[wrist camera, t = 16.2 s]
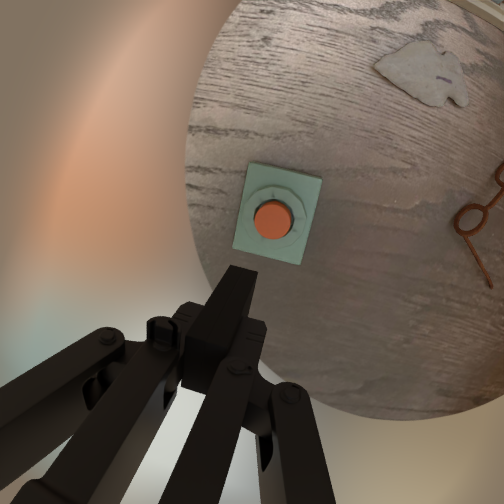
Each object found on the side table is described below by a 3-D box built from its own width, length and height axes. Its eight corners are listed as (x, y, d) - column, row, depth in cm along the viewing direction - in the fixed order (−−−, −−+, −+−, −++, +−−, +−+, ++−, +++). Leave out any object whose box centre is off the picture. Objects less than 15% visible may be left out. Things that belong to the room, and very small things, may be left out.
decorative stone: (460, 112, 28) (474, 110, 25) (375, 104, 29) (384, 99, 26) (450, 51, 26) (462, 45, 23) (365, 37, 26) (373, 28, 23)
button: (253, 230, 33) (251, 234, 31) (260, 197, 32) (258, 200, 30) (287, 238, 33) (285, 243, 31) (295, 205, 31) (294, 209, 30)
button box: (236, 242, 38) (228, 253, 34) (252, 160, 34) (245, 163, 30) (300, 258, 37) (299, 272, 33) (321, 177, 33) (323, 181, 30)
